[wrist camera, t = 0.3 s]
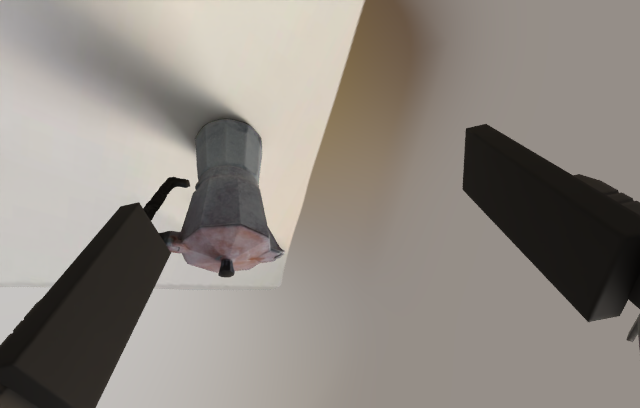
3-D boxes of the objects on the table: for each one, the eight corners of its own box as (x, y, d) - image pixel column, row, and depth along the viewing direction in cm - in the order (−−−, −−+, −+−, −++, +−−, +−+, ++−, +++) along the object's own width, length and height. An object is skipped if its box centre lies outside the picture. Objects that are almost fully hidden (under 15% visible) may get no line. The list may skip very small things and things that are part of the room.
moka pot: (272, 179, 49) (274, 300, 36) (165, 157, 43) (121, 291, 30) (291, 131, 42) (302, 257, 29) (168, 98, 37) (115, 235, 24)
